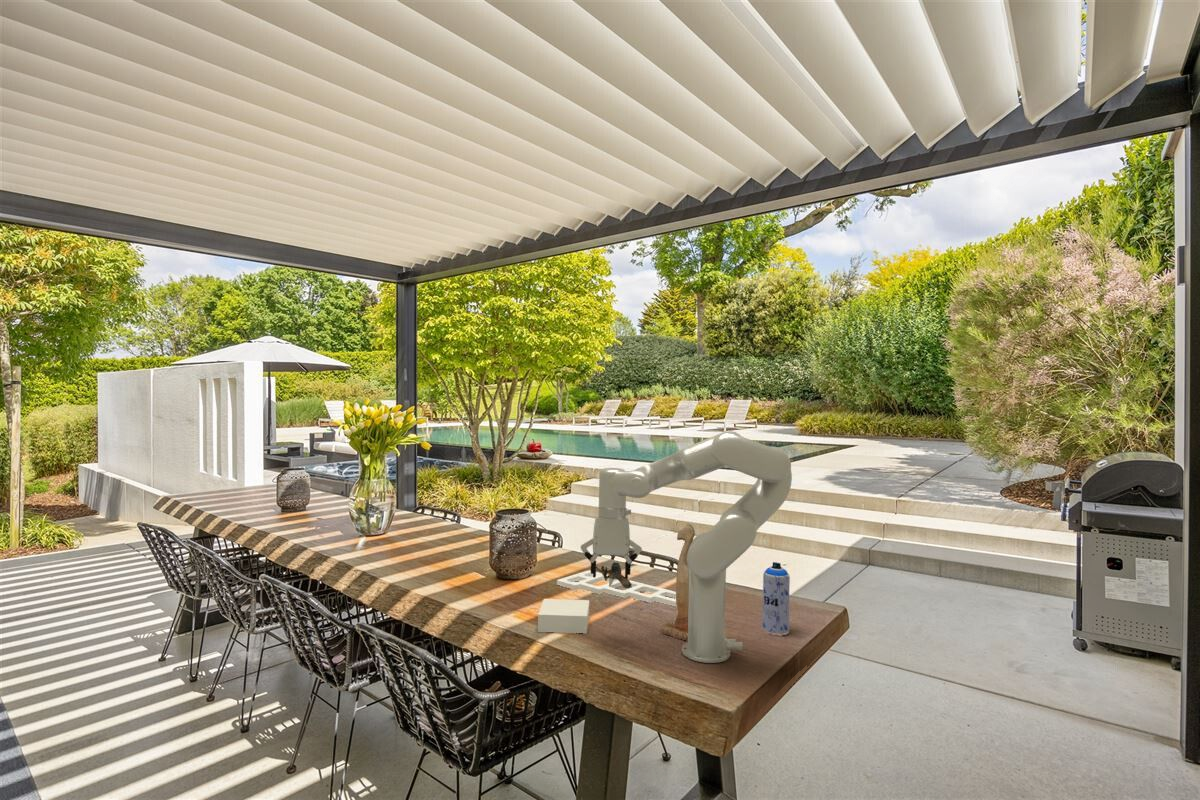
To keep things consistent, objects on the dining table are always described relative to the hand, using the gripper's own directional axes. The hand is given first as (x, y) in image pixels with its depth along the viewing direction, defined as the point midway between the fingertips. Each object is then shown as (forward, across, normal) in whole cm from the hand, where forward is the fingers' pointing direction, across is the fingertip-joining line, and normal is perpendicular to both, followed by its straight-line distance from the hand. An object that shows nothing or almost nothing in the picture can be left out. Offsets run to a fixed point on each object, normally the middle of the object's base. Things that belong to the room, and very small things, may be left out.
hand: (610, 576), depth 166 cm
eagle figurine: (+2, -1, +1) cm, 3 cm away
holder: (+19, -4, -43) cm, 47 cm away
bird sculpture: (+18, -23, -8) cm, 30 cm away
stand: (+18, +13, -12) cm, 26 cm away
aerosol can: (+18, -49, -12) cm, 53 cm away
